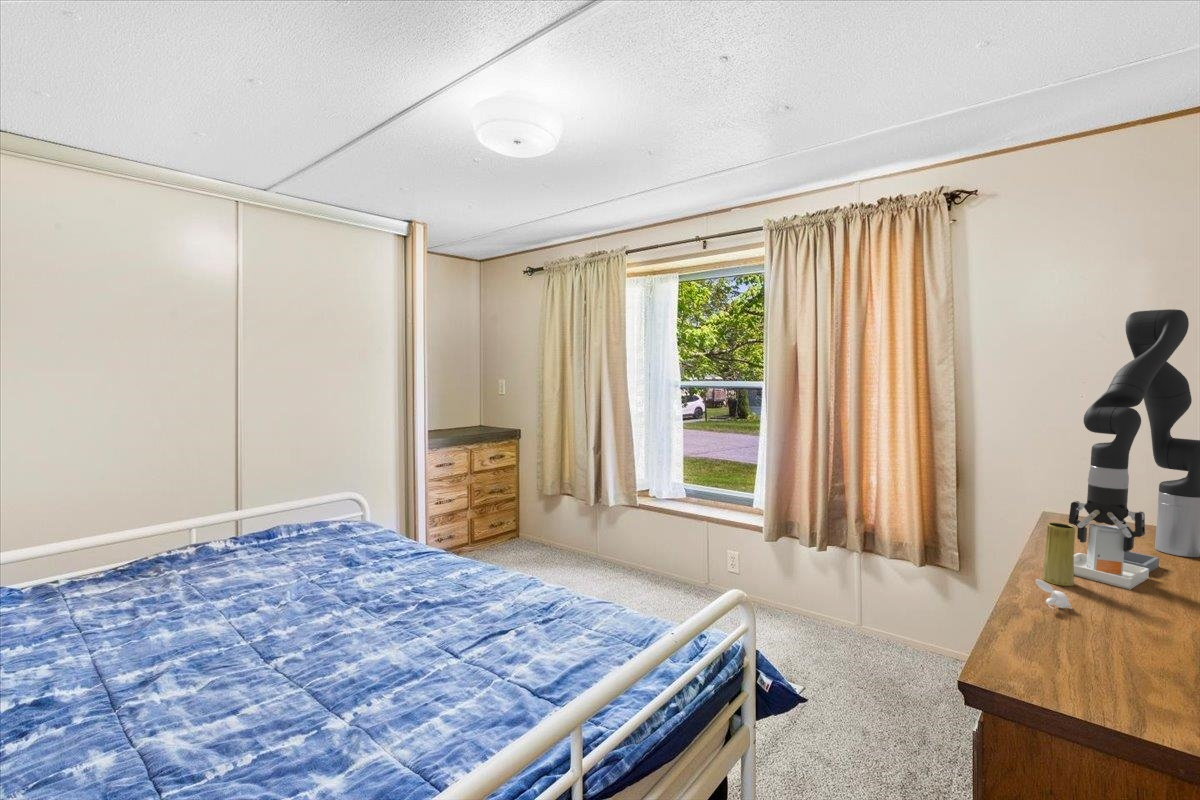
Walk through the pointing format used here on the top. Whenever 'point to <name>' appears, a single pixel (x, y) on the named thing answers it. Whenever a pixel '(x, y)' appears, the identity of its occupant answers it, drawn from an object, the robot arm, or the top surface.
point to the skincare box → (1105, 549)
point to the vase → (1059, 554)
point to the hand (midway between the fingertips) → (1104, 546)
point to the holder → (1141, 560)
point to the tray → (1128, 580)
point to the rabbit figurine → (1054, 596)
